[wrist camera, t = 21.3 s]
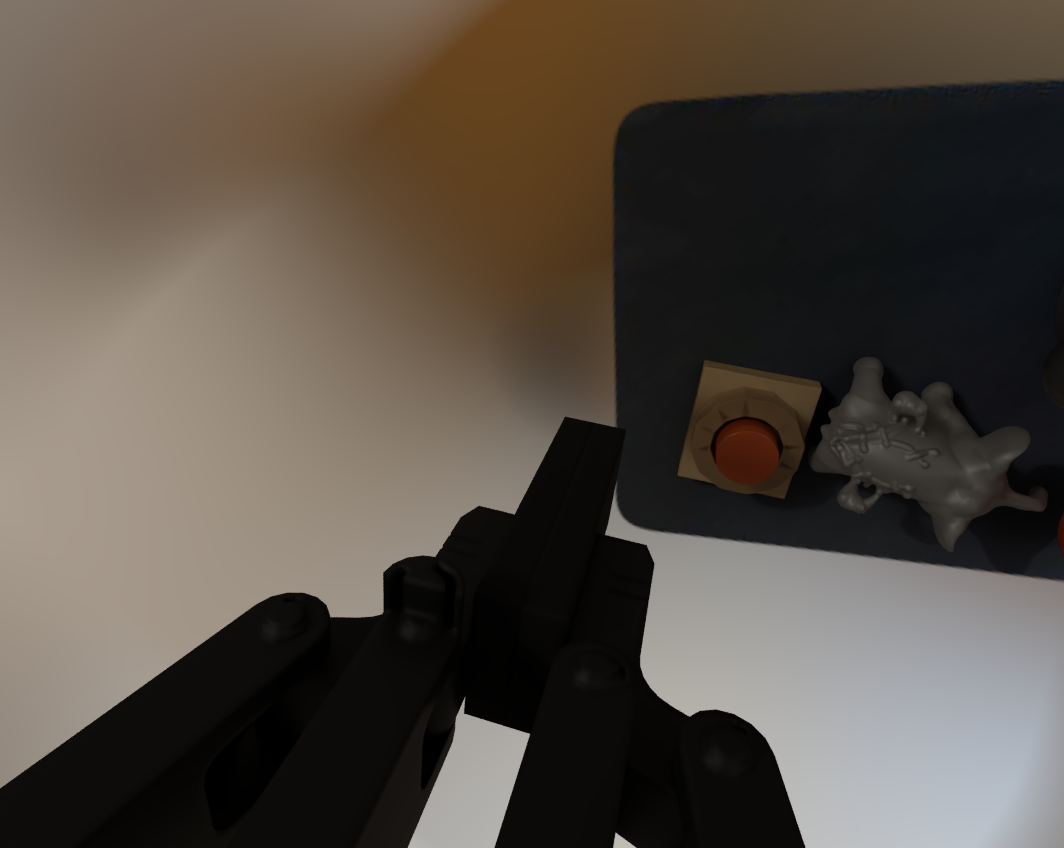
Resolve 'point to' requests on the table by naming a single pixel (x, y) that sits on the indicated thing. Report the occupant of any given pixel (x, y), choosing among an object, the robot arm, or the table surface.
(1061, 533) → the apple
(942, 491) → the grey toy figure
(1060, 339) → the beige cylinder
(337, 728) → the robot arm
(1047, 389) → the switch
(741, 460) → the button
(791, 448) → the button base
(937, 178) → the table surface
